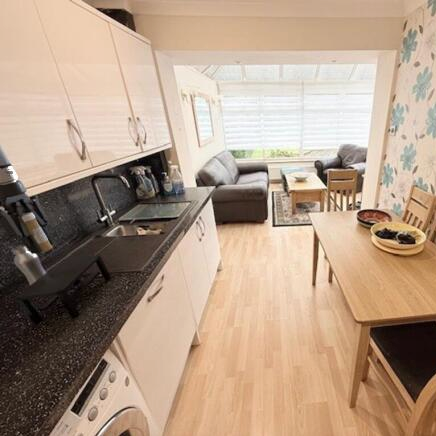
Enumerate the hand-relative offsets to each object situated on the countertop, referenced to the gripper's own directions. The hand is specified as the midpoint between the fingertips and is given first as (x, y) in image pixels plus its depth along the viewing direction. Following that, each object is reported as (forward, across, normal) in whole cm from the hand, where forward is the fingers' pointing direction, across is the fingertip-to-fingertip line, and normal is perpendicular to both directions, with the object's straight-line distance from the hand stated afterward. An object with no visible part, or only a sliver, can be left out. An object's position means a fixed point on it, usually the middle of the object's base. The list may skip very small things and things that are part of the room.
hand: (43, 248), depth 81 cm
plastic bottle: (+24, +12, +20) cm, 33 cm away
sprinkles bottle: (+1, 0, 0) cm, 1 cm away
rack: (+24, +2, +1) cm, 24 cm away
